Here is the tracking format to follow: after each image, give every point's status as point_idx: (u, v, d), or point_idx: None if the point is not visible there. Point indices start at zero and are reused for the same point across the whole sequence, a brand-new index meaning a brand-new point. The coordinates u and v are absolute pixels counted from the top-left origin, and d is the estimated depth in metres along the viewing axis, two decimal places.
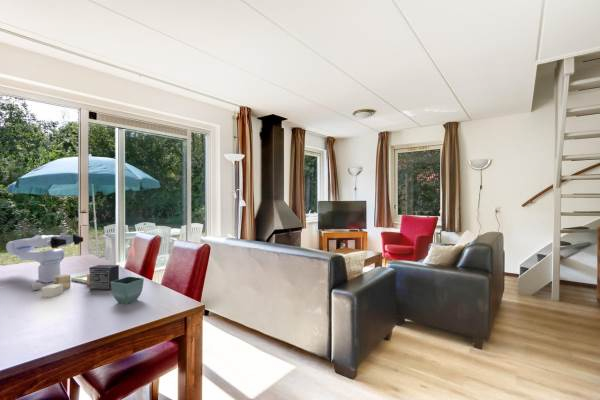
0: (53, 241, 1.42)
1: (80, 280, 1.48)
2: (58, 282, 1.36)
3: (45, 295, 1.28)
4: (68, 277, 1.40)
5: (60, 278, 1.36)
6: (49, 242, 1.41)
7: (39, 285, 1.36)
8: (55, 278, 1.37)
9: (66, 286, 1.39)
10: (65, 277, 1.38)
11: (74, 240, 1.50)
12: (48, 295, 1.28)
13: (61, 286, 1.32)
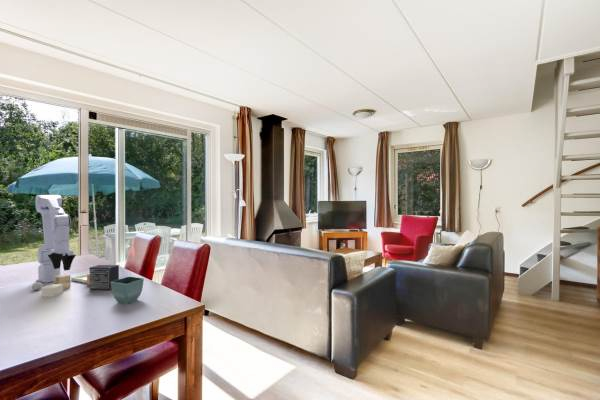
0: None
1: (80, 280, 1.48)
2: (58, 282, 1.36)
3: (45, 295, 1.28)
4: (68, 277, 1.40)
5: (60, 278, 1.36)
6: (52, 252, 1.41)
7: (39, 285, 1.36)
8: (55, 278, 1.37)
9: (66, 286, 1.39)
10: (65, 277, 1.38)
11: None
12: (48, 295, 1.28)
13: (61, 286, 1.32)
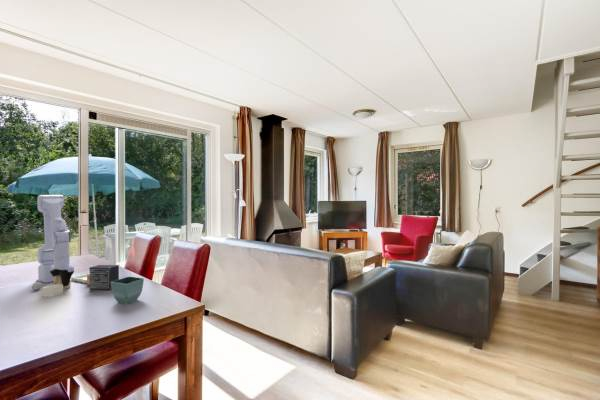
0: None
1: (80, 280, 1.48)
2: (58, 282, 1.36)
3: (45, 295, 1.28)
4: None
5: (60, 278, 1.36)
6: None
7: (39, 285, 1.36)
8: (55, 278, 1.37)
9: (66, 286, 1.39)
10: None
11: None
12: (48, 295, 1.28)
13: (61, 286, 1.32)
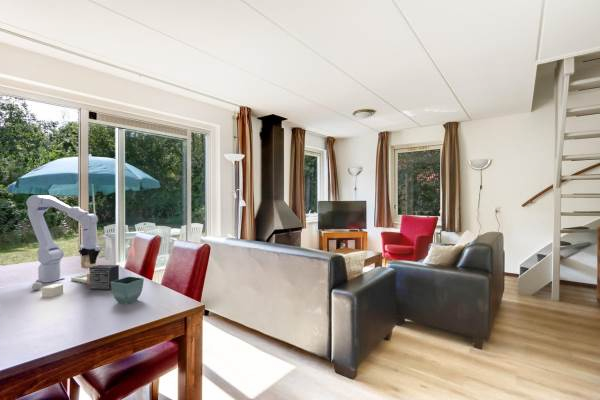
0: None
1: (80, 280, 1.48)
2: (85, 261, 1.50)
3: (45, 295, 1.28)
4: None
5: (87, 257, 1.50)
6: (81, 248, 1.55)
7: (39, 285, 1.36)
8: (82, 258, 1.51)
9: (92, 265, 1.52)
10: None
11: None
12: (48, 295, 1.28)
13: (61, 286, 1.32)
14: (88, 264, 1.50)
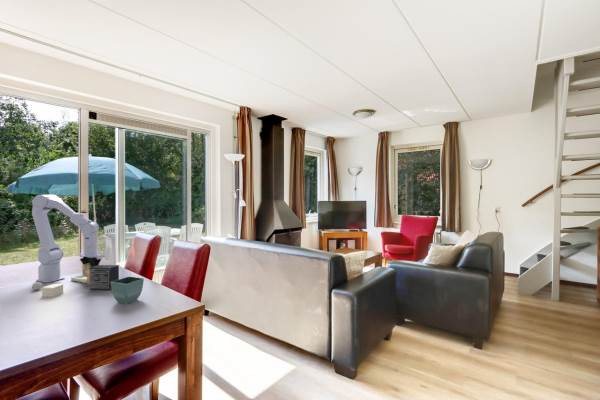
0: None
1: (80, 280, 1.48)
2: (86, 269, 1.51)
3: (45, 295, 1.28)
4: None
5: (88, 266, 1.51)
6: None
7: (39, 285, 1.36)
8: (83, 266, 1.52)
9: None
10: None
11: None
12: (48, 295, 1.28)
13: (61, 286, 1.32)
14: (89, 272, 1.51)
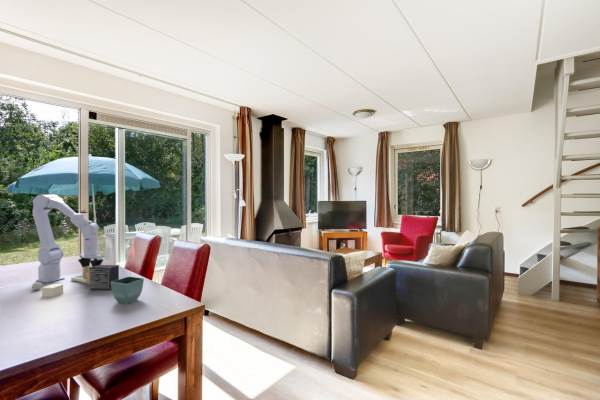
0: None
1: (80, 280, 1.48)
2: (87, 272, 1.51)
3: (45, 295, 1.28)
4: None
5: None
6: None
7: (39, 285, 1.36)
8: (84, 269, 1.52)
9: None
10: None
11: None
12: (48, 295, 1.28)
13: (61, 286, 1.32)
14: None
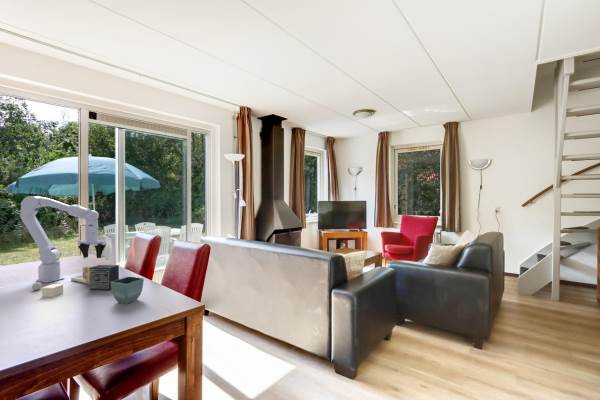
0: None
1: (80, 280, 1.48)
2: (87, 272, 1.51)
3: (45, 295, 1.28)
4: None
5: None
6: None
7: (39, 285, 1.36)
8: (84, 269, 1.52)
9: None
10: None
11: None
12: (48, 295, 1.28)
13: (61, 286, 1.32)
14: None
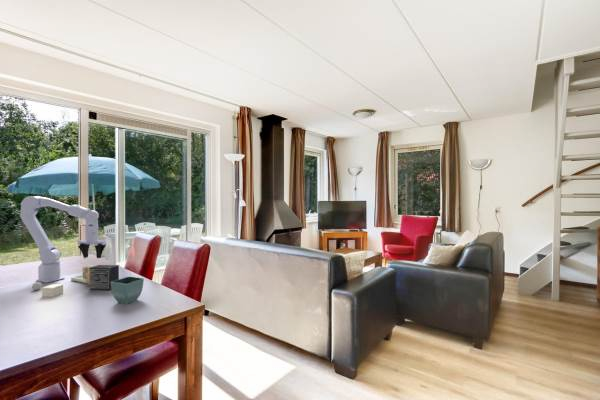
0: None
1: (80, 280, 1.48)
2: (87, 272, 1.51)
3: (45, 295, 1.28)
4: None
5: None
6: None
7: (39, 285, 1.36)
8: (84, 269, 1.52)
9: None
10: None
11: None
12: (48, 295, 1.28)
13: (61, 286, 1.32)
14: None
